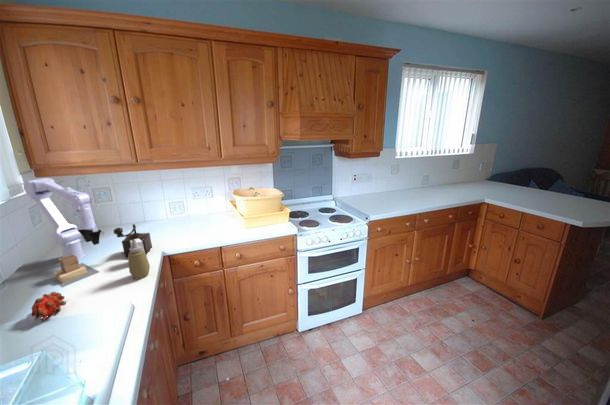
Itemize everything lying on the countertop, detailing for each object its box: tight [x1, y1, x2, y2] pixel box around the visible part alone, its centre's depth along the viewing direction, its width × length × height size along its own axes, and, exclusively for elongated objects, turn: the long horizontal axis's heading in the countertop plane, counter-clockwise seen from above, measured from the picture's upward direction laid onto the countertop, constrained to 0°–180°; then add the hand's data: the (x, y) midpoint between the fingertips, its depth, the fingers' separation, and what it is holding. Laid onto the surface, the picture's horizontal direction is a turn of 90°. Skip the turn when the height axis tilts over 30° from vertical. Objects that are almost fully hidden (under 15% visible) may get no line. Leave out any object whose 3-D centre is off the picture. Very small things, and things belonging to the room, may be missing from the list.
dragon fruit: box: [31, 291, 67, 321], centre depth 95 cm, size 8×8×12 cm
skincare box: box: [130, 238, 144, 250], centre depth 131 cm, size 6×4×12 cm
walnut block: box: [57, 254, 80, 273], centre depth 119 cm, size 5×5×6 cm
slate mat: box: [46, 262, 100, 288], centre depth 121 cm, size 18×14×1 cm
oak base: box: [52, 263, 88, 283], centre depth 120 cm, size 9×9×3 cm
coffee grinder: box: [113, 224, 153, 258], centre depth 138 cm, size 16×11×18 cm
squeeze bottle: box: [127, 240, 151, 280], centre depth 118 cm, size 8×8×18 cm
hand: (92, 242), depth 131 cm, fingers open, 7 cm apart
